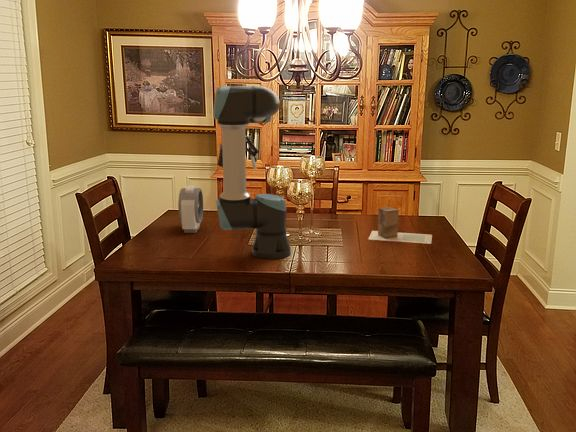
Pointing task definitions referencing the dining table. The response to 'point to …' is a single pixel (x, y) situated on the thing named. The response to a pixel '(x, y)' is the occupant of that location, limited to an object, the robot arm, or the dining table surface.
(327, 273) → the dining table surface
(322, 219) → the dining table surface
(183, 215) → the alarm clock
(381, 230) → the walnut block
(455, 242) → the dining table surface
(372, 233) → the board
